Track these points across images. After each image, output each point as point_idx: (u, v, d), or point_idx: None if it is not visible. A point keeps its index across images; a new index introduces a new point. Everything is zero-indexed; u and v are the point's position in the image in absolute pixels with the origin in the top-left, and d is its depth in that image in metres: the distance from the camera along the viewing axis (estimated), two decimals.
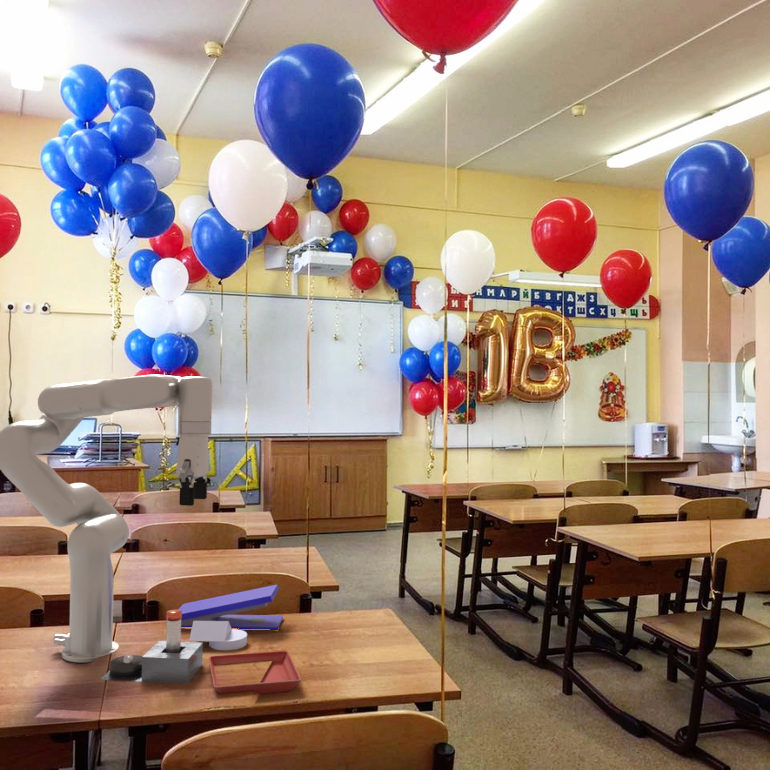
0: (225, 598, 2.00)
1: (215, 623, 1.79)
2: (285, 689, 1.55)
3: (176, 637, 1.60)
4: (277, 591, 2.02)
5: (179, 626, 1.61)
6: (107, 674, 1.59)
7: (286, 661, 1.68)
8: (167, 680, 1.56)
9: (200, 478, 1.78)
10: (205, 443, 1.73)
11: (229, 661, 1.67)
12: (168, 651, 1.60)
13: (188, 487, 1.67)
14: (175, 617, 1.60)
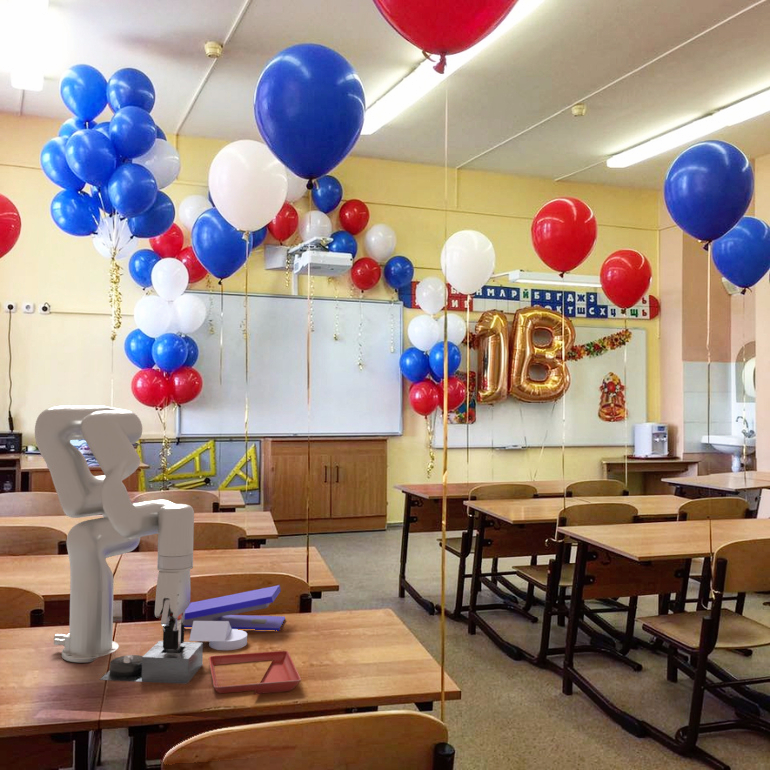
0: (227, 598, 2.00)
1: (215, 623, 1.79)
2: (285, 689, 1.55)
3: None
4: (279, 592, 2.01)
5: (179, 626, 1.61)
6: (107, 674, 1.59)
7: (286, 661, 1.68)
8: (167, 680, 1.56)
9: None
10: (186, 577, 1.61)
11: (229, 661, 1.67)
12: (168, 651, 1.60)
13: (172, 631, 1.58)
14: None
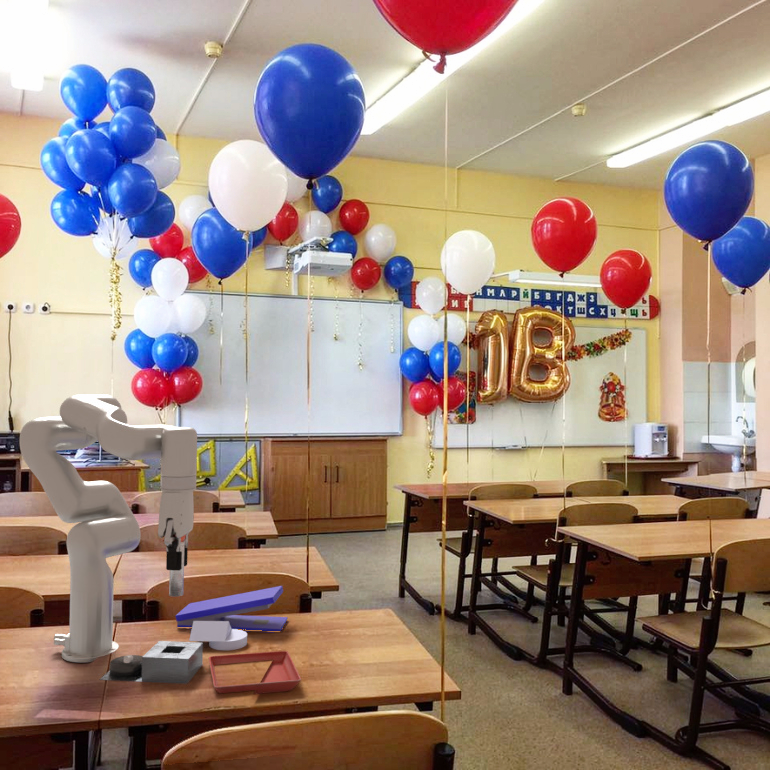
0: (229, 598, 2.00)
1: (215, 623, 1.79)
2: (285, 689, 1.55)
3: None
4: (281, 592, 2.00)
5: (182, 548, 1.61)
6: (107, 674, 1.59)
7: (286, 661, 1.68)
8: (167, 680, 1.56)
9: None
10: (189, 499, 1.61)
11: (229, 661, 1.67)
12: (172, 572, 1.60)
13: (175, 551, 1.58)
14: None
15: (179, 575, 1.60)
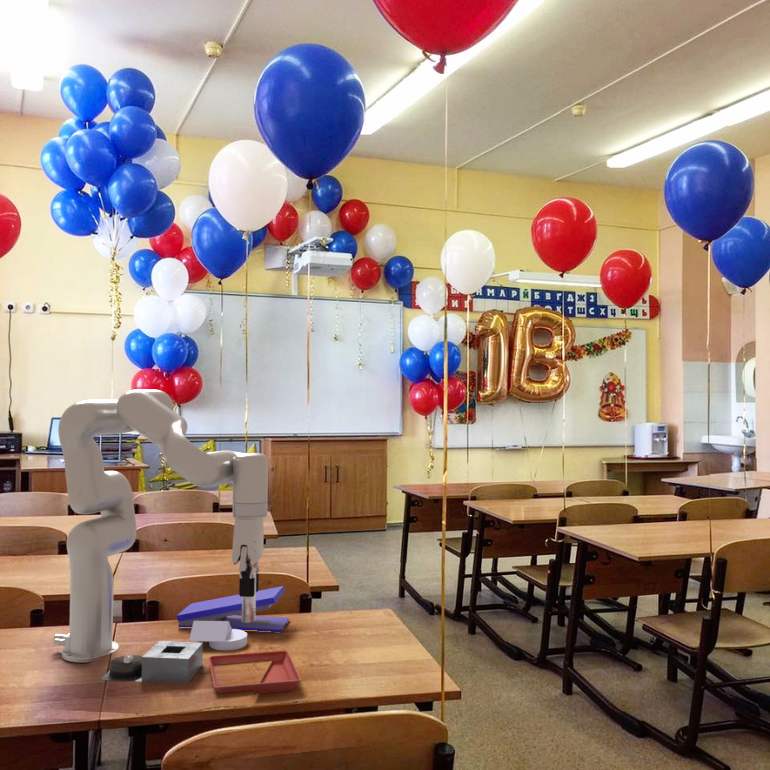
0: (231, 599, 2.00)
1: (215, 623, 1.79)
2: (285, 689, 1.55)
3: None
4: None
5: (255, 574, 1.61)
6: (107, 674, 1.59)
7: (286, 661, 1.68)
8: (167, 680, 1.56)
9: None
10: (261, 525, 1.61)
11: (229, 661, 1.67)
12: (245, 599, 1.60)
13: (248, 578, 1.58)
14: None
15: (252, 601, 1.60)
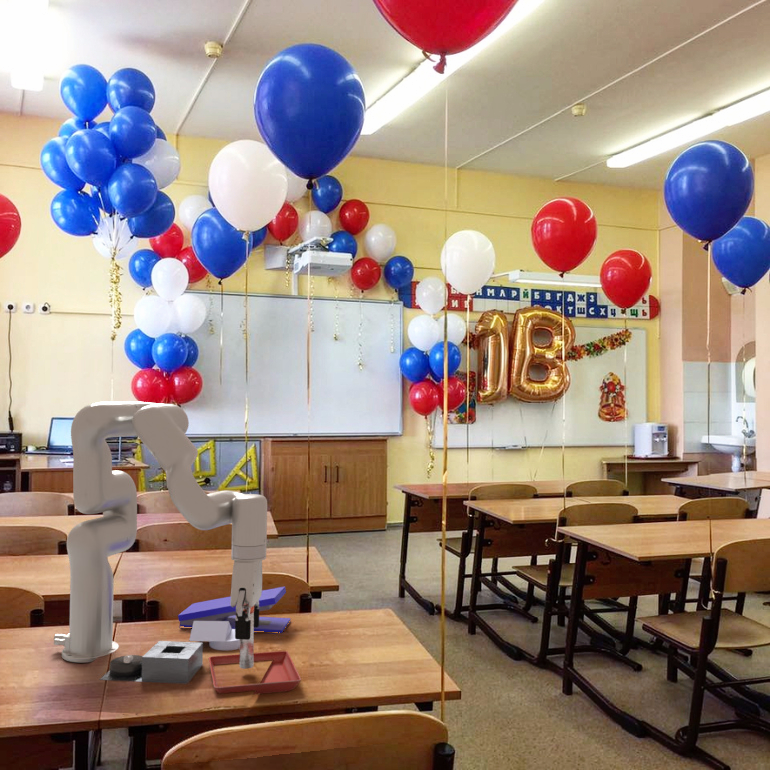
0: None
1: (215, 623, 1.79)
2: (285, 689, 1.55)
3: None
4: (284, 593, 2.00)
5: (252, 619, 1.61)
6: (107, 674, 1.59)
7: (286, 661, 1.68)
8: (167, 680, 1.56)
9: None
10: (260, 567, 1.61)
11: (229, 661, 1.67)
12: (242, 644, 1.60)
13: (244, 620, 1.56)
14: None
15: (250, 647, 1.60)
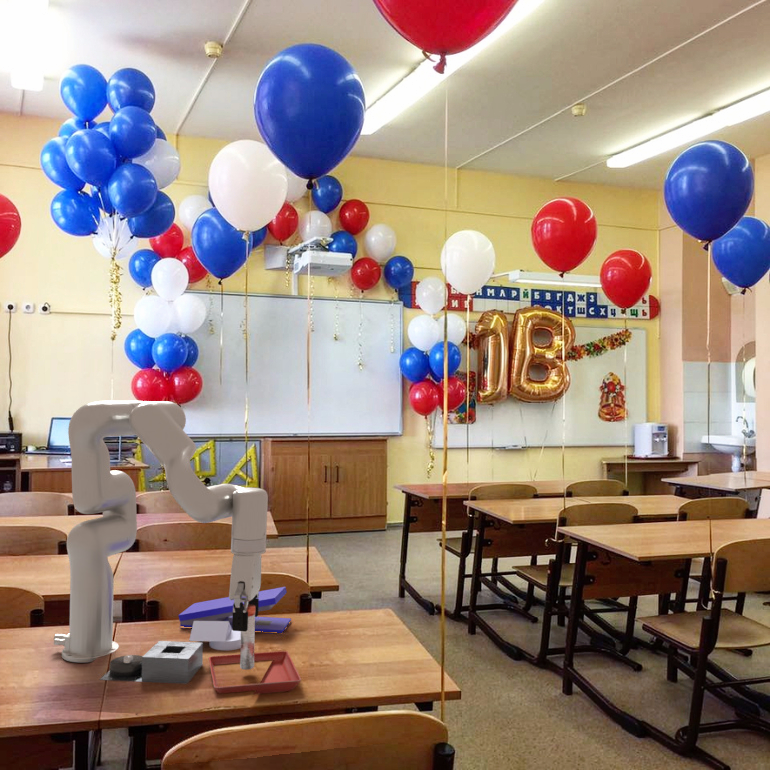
0: (233, 599, 1.99)
1: (215, 623, 1.79)
2: (285, 689, 1.55)
3: (251, 632, 1.59)
4: (284, 593, 2.00)
5: (253, 621, 1.60)
6: (107, 674, 1.59)
7: (286, 661, 1.68)
8: (167, 680, 1.56)
9: None
10: (259, 560, 1.61)
11: (229, 661, 1.67)
12: (243, 646, 1.59)
13: (242, 612, 1.55)
14: (250, 612, 1.59)
15: (251, 649, 1.60)
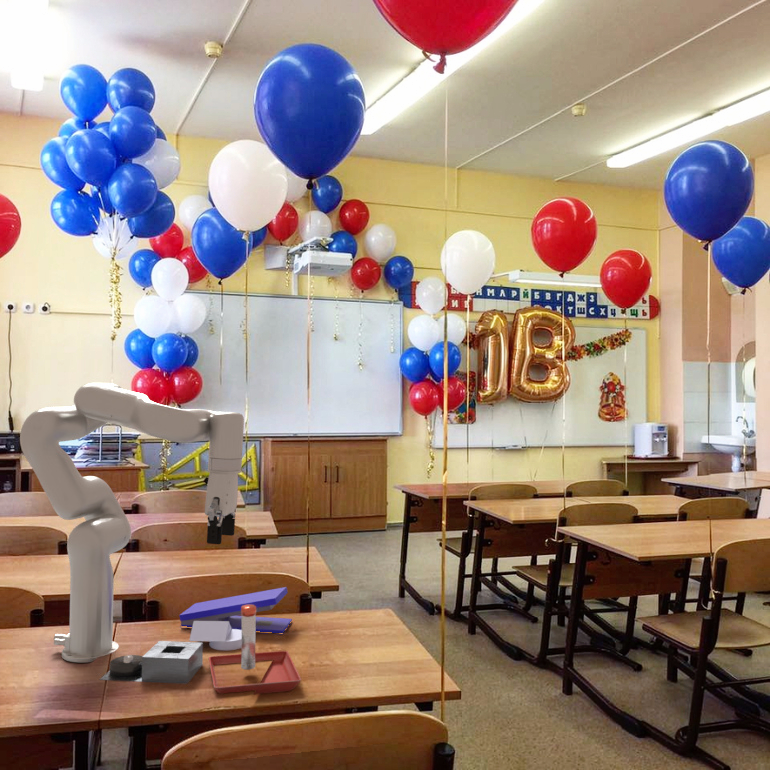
0: (234, 599, 1.99)
1: (215, 623, 1.79)
2: (285, 689, 1.55)
3: (251, 633, 1.59)
4: (285, 594, 1.99)
5: (254, 621, 1.60)
6: (107, 674, 1.59)
7: (286, 661, 1.68)
8: (167, 680, 1.56)
9: (228, 513, 1.75)
10: (235, 480, 1.70)
11: (229, 661, 1.67)
12: (244, 646, 1.59)
13: (216, 526, 1.64)
14: (250, 612, 1.59)
15: (252, 649, 1.59)
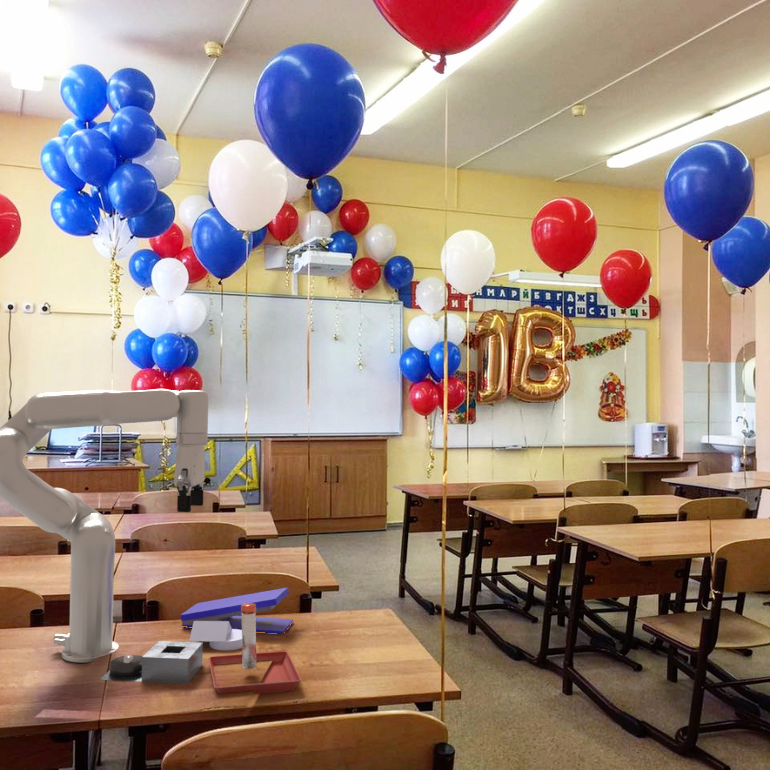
0: (235, 599, 1.99)
1: (215, 623, 1.79)
2: (285, 689, 1.55)
3: (252, 630, 1.60)
4: (286, 594, 1.99)
5: (254, 619, 1.61)
6: (107, 674, 1.59)
7: (286, 661, 1.68)
8: (167, 680, 1.56)
9: (197, 485, 1.88)
10: (201, 453, 1.83)
11: (229, 661, 1.67)
12: (245, 645, 1.60)
13: (185, 495, 1.77)
14: (251, 609, 1.60)
15: (253, 647, 1.60)
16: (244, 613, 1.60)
